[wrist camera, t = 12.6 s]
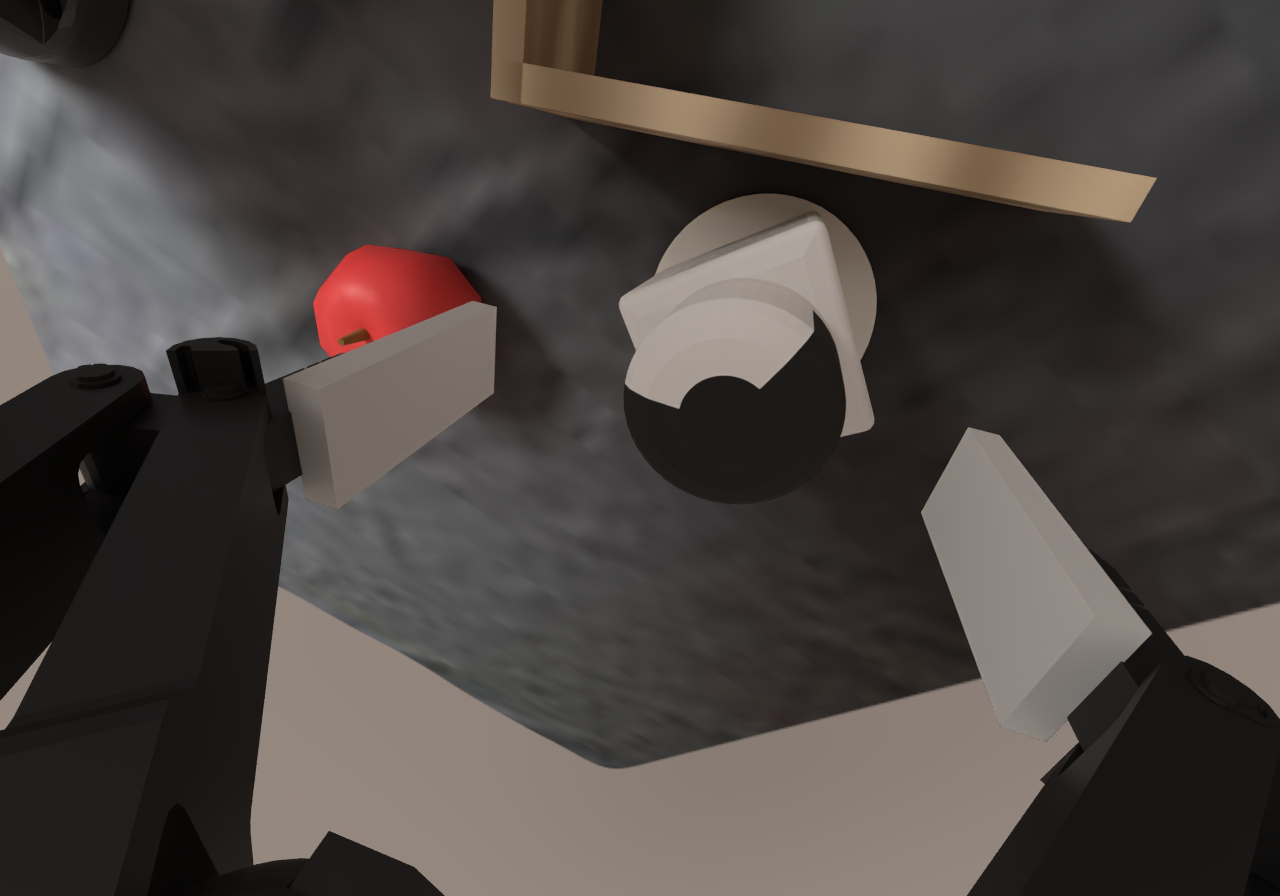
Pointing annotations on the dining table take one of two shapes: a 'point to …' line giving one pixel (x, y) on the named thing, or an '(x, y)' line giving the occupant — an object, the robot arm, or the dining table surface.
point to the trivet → (768, 211)
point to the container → (745, 365)
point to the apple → (385, 295)
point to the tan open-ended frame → (776, 123)
